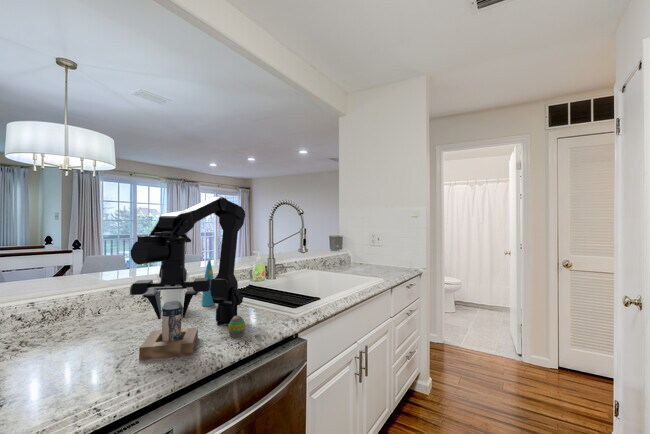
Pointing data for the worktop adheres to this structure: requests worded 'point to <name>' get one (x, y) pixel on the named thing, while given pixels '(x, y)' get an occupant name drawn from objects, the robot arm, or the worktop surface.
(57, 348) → the worktop surface
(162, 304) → the cup
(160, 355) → the socket
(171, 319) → the beer can
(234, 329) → the egg
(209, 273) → the tube
